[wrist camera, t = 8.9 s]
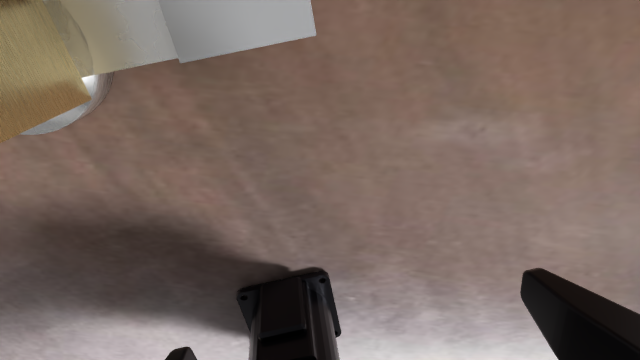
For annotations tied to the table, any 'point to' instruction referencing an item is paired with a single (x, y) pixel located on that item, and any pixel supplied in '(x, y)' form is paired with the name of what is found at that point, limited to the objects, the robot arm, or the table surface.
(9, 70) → the wooden toy block
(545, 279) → the robot arm
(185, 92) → the table surface
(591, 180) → the table surface
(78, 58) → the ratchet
